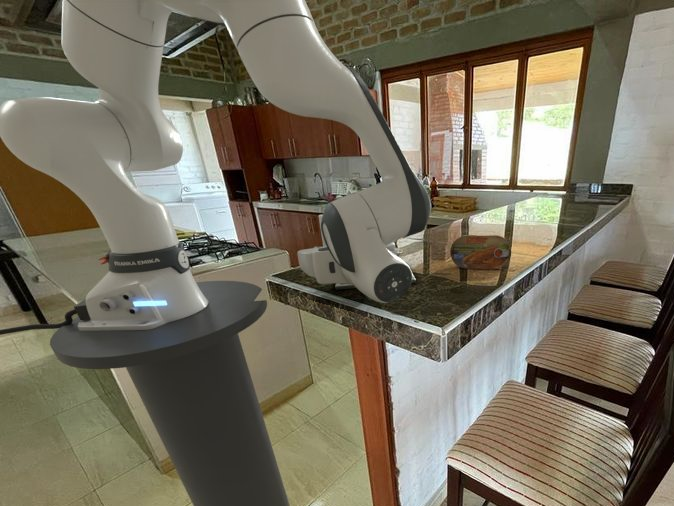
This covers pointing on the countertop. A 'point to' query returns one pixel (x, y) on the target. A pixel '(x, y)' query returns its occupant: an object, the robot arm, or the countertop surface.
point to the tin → (480, 251)
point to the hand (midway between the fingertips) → (338, 246)
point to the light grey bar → (321, 231)
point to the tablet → (350, 286)
